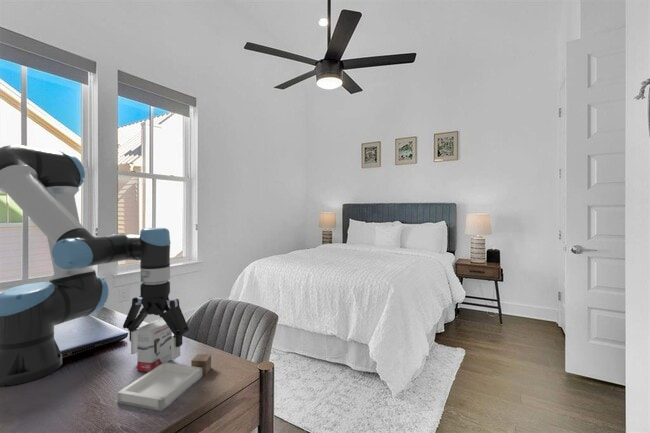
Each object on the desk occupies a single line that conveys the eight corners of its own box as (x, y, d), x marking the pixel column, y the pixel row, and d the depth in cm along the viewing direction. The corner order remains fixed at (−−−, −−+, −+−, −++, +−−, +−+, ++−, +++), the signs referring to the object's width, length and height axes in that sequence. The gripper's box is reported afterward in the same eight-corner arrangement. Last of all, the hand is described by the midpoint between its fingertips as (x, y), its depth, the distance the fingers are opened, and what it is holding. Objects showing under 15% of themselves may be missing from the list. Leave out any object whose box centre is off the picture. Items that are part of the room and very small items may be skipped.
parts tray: (117, 403, 73) (117, 392, 73) (164, 371, 88) (164, 362, 88) (161, 411, 71) (161, 400, 71) (202, 376, 85) (202, 367, 85)
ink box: (151, 373, 87) (151, 330, 86) (136, 371, 88) (136, 329, 87) (173, 358, 95) (173, 319, 95) (158, 357, 96) (158, 318, 96)
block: (191, 375, 86) (191, 360, 86) (196, 368, 90) (196, 354, 90) (206, 375, 86) (206, 360, 86) (211, 368, 90) (211, 354, 90)
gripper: (108, 282, 90) (108, 355, 91) (184, 287, 84) (184, 366, 85) (130, 276, 97) (130, 345, 98) (201, 281, 92) (201, 353, 92)
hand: (155, 355), depth 91 cm, fingers open, 13 cm apart
